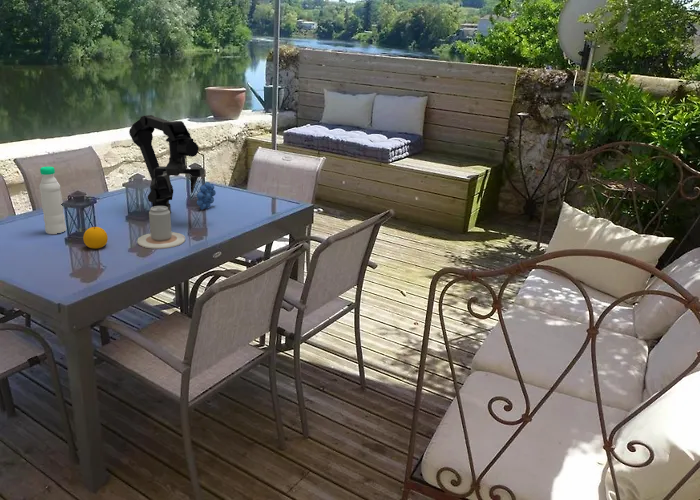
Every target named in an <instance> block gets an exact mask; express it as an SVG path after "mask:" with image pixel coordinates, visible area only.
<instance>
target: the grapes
mask: <svg viewBox="0 0 700 500" xmlns="http://www.w3.org/2000/svg"><path fill="white" fill-rule="evenodd" d="M216 193H217V192H216V189H215V185H214V184H213V183H210V182H209V181H206V182H205V183H204V184H202V185H200V187H199V191H198V192H197V193H196V198H197V200H196V205H197V206H198V207H199V209H200V210H201V211H202V210H204V209H207V210H208V209H209V208H210V207H211V204H213V203H214V201H215V198H214V196H215V195H216Z"/></svg>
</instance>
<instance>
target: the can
mask: <svg viewBox="0 0 700 500" xmlns="http://www.w3.org/2000/svg"><path fill="white" fill-rule="evenodd" d="M148 219H149V229H150V230H149V232H150V233H151V238H152V239H153V240H155V241H166V240H169V239H170V238H171V237H172V232H173V231H172V222H171V221H172V220H171V213H170V211H169V210H168V207H166V206H154V207H150V210H149V211H148Z"/></svg>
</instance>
